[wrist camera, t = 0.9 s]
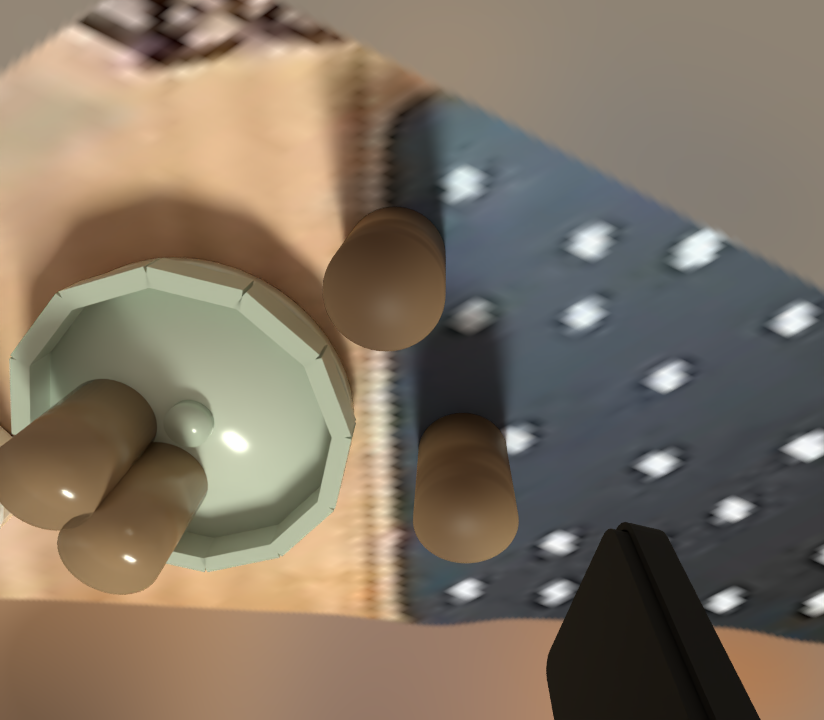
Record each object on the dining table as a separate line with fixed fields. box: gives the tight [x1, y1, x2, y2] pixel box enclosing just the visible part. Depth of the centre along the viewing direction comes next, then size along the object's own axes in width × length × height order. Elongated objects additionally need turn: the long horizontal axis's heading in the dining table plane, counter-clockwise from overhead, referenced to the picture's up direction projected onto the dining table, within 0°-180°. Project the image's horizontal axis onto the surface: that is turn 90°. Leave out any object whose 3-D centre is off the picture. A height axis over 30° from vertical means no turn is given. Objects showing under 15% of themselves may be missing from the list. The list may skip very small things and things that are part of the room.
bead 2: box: [413, 413, 519, 563], centre depth 25 cm, size 4×4×5 cm
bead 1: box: [323, 207, 446, 351], centre depth 22 cm, size 4×4×5 cm
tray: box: [0, 257, 356, 595], centre depth 25 cm, size 14×14×6 cm
